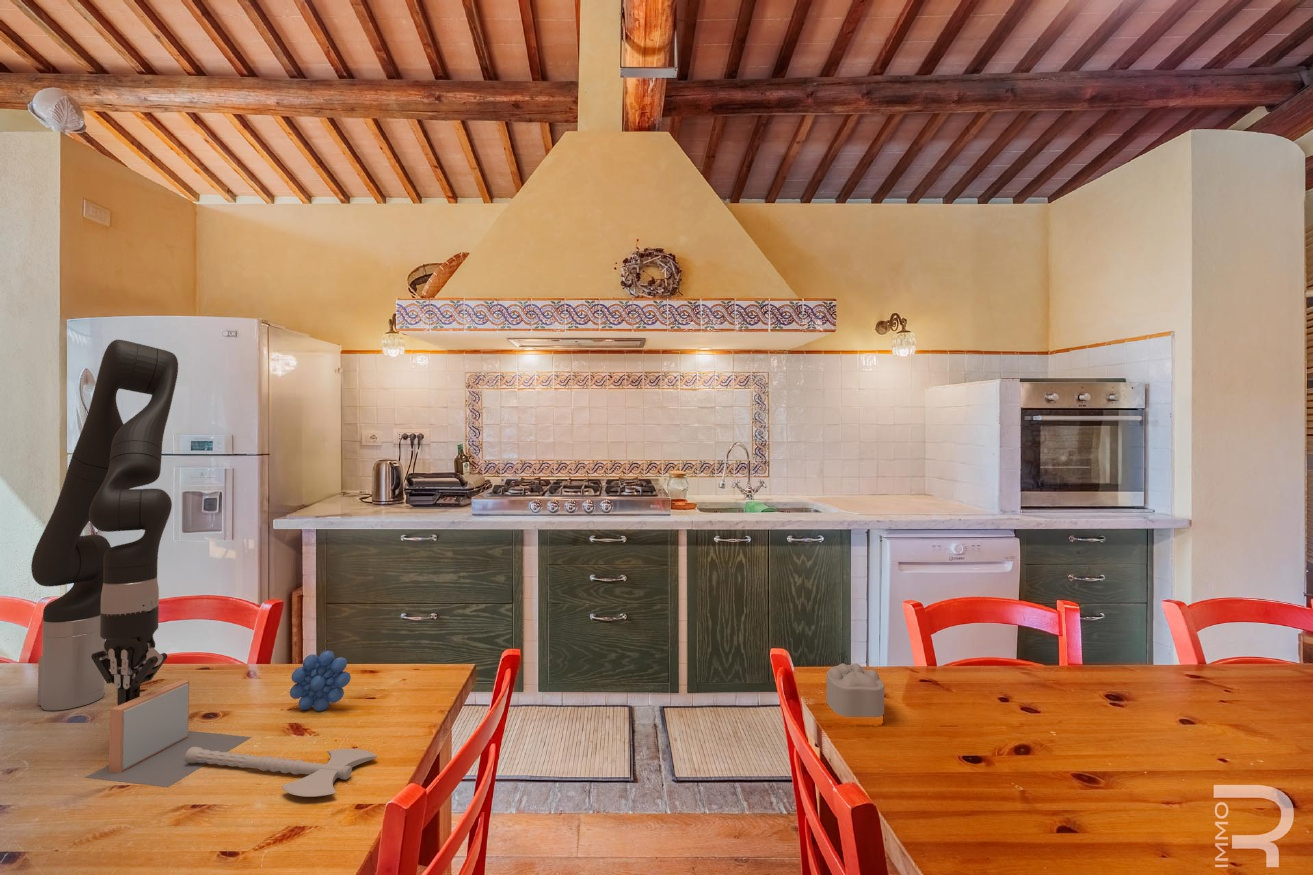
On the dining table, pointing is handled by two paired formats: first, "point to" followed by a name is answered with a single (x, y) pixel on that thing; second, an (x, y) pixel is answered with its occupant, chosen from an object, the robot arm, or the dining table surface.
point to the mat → (171, 761)
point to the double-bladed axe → (291, 767)
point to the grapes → (320, 681)
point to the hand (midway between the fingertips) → (128, 707)
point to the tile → (148, 725)
